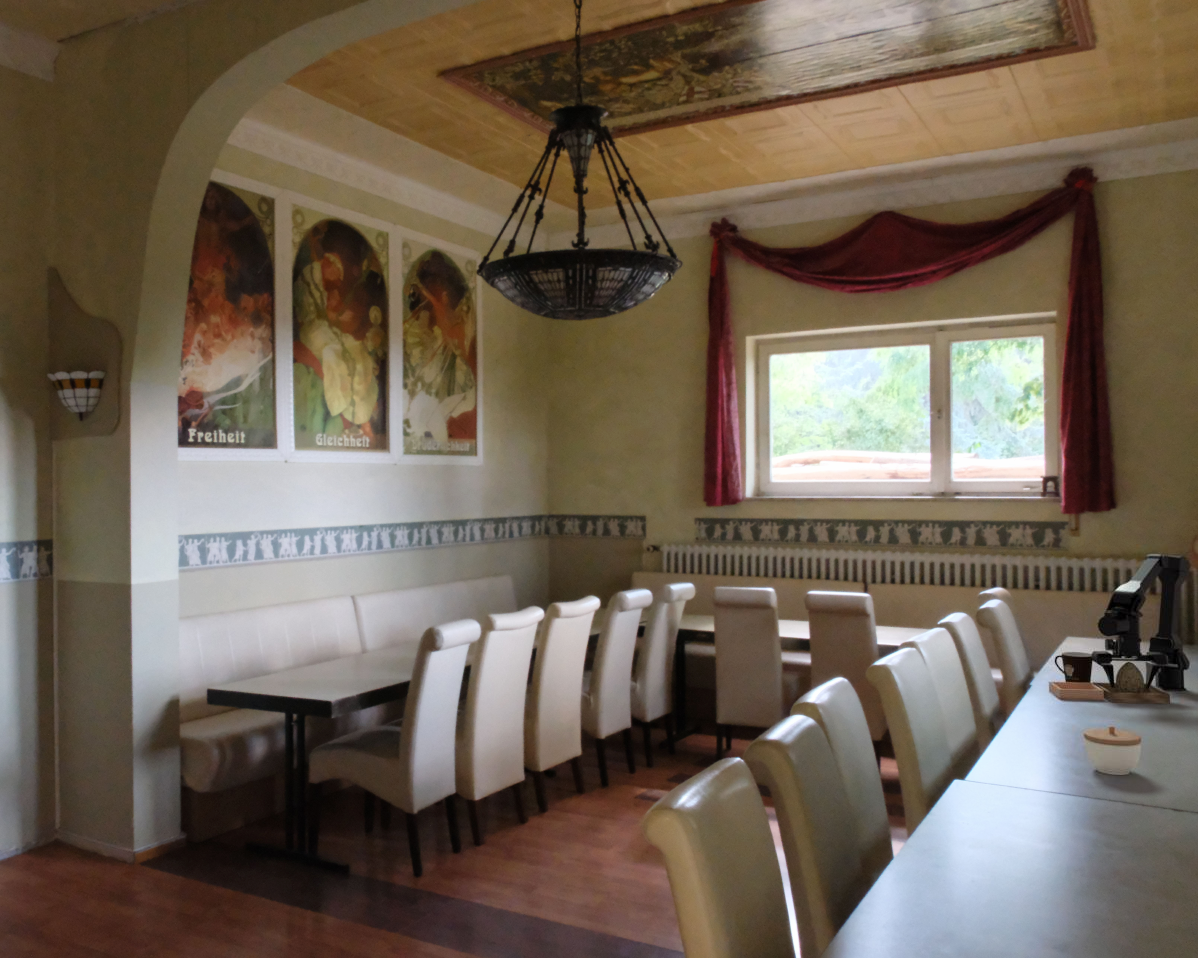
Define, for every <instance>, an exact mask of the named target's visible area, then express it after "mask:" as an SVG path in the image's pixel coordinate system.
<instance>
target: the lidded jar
mask: <svg viewBox="0 0 1198 958" xmlns="http://www.w3.org/2000/svg"><path fill="white" fill-rule="evenodd" d="M1083 738H1084V749H1085V752H1086V757H1087V759H1088V760H1089V761H1090V763H1091V764H1092V765H1093V766H1094V768H1096V770H1097V772H1100V773H1103V774H1106V775H1111V776H1112V775H1113V776H1126V775H1129V774H1130V772H1131V771H1132V770H1133V769H1135V768H1136V766H1137V765H1138V763H1139V761H1140V758H1141V749H1142V748H1141V747H1142V746H1141V743H1142V737H1141V735H1140V734H1137V733H1135V732H1133V731H1132V732H1131V731H1127V730H1123V729H1117V728H1116V729H1115V726H1112V725H1109V726H1108V728H1090V729H1086V730H1084V732H1083Z"/></svg>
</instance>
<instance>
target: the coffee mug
mask: <svg viewBox="0 0 1198 958" xmlns="http://www.w3.org/2000/svg"><path fill="white" fill-rule="evenodd" d="M1091 655H1092V653H1088V652H1082V651H1081V652H1079V651H1064V652H1061V654H1060V655H1056V656H1055V658H1054V664H1055V666H1056V668H1057V669H1058V670H1059V671H1060V672H1061V673H1062V674H1064V682H1089V683H1092V682H1091V680H1092V670H1093V662H1094V661H1092V658H1091ZM1059 658H1061V660H1062V667H1060V666H1059V663H1058V659H1059ZM1062 668H1063V669H1062Z"/></svg>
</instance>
